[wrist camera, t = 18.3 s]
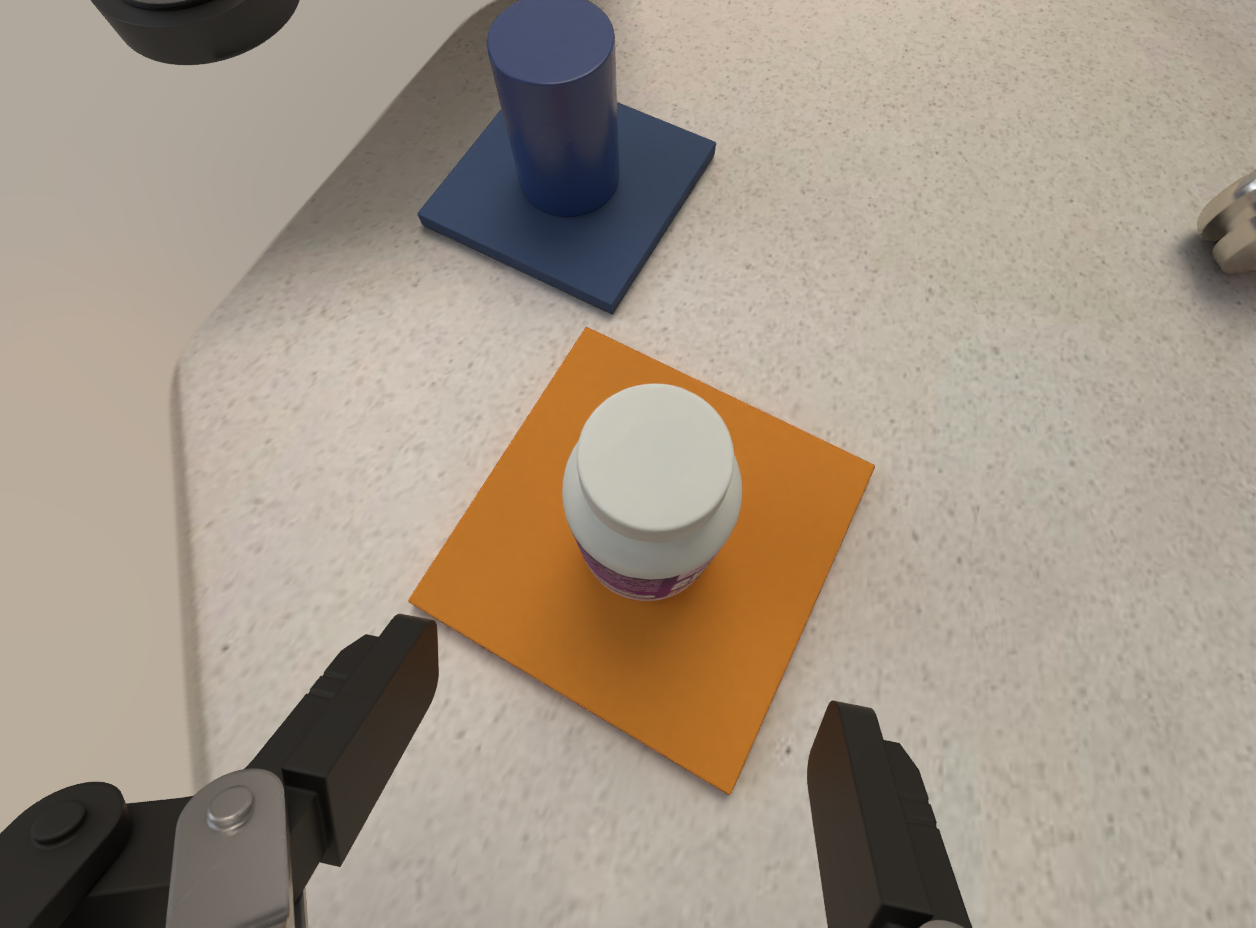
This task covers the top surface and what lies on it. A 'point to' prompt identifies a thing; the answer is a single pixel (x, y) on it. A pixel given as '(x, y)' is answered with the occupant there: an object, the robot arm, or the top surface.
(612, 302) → the blue mat
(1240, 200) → the grooved metal pulley
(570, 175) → the blue tin
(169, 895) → the robot arm
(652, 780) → the top surface
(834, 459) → the amber mat
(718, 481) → the pill bottle
